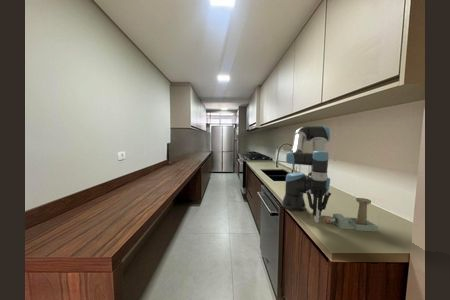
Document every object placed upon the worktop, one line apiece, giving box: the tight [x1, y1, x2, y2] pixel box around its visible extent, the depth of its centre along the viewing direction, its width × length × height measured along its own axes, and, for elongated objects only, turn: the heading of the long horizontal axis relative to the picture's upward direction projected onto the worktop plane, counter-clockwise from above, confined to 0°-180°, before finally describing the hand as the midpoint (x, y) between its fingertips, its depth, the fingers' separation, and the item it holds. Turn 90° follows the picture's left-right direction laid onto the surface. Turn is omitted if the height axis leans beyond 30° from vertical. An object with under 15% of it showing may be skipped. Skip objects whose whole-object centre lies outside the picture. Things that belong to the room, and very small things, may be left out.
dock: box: [332, 213, 379, 232], centre depth 100 cm, size 10×18×5 cm, turn 86°
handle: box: [355, 197, 372, 225], centre depth 99 cm, size 5×6×15 cm
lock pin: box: [324, 216, 338, 224], centre depth 101 cm, size 3×7×3 cm, turn 86°
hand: (316, 221), depth 101 cm, fingers closed
